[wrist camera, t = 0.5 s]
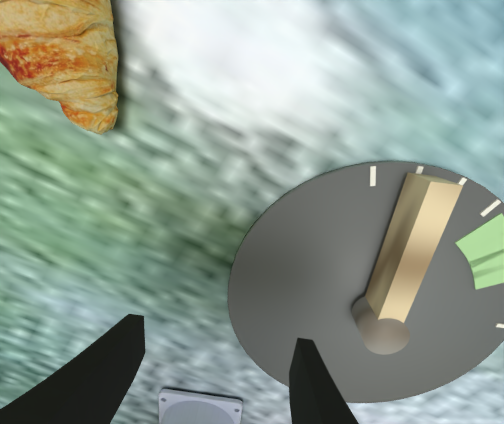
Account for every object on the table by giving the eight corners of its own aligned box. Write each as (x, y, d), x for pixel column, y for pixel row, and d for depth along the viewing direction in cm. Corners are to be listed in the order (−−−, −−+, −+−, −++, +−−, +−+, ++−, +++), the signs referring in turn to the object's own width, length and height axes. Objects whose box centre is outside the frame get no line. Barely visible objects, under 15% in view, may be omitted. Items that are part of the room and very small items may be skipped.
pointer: (385, 328, 18) (401, 357, 16) (347, 323, 19) (358, 351, 16) (446, 177, 14) (478, 188, 12) (397, 171, 15) (420, 180, 12)
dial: (448, 408, 23) (455, 419, 22) (219, 375, 23) (217, 385, 22) (586, 184, 15) (604, 188, 14) (244, 140, 16) (242, 141, 15)
